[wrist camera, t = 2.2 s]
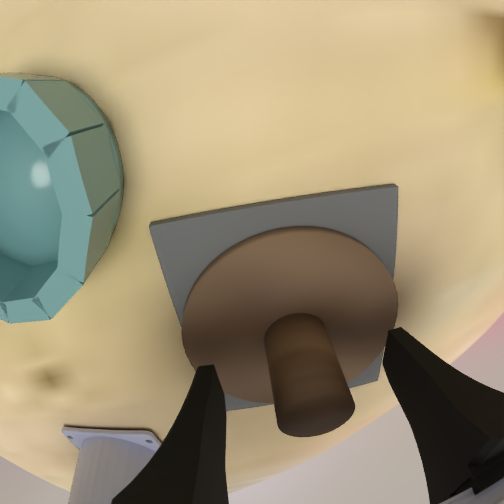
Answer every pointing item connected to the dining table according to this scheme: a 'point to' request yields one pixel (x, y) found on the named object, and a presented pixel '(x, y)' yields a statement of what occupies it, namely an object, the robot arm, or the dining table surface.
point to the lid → (292, 322)
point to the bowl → (52, 193)
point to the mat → (268, 218)
